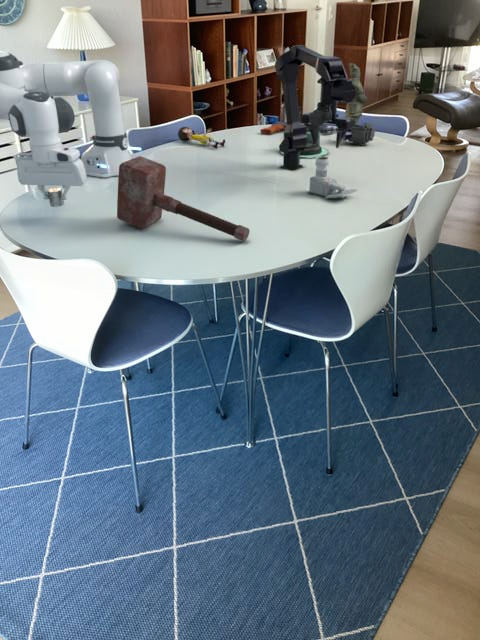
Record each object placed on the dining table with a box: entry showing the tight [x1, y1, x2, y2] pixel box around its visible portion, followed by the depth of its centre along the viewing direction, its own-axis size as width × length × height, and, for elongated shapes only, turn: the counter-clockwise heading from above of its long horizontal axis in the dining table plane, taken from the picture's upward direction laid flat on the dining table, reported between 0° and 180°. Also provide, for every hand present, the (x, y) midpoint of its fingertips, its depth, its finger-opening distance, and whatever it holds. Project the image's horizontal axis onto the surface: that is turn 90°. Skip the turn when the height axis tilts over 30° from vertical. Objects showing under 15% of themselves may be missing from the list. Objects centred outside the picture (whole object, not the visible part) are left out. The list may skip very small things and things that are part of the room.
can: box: [46, 187, 65, 208], centre depth 167 cm, size 4×4×5 cm
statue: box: [344, 62, 368, 125], centre depth 262 cm, size 11×9×30 cm
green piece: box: [280, 128, 328, 159], centre depth 234 cm, size 15×19×20 cm
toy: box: [342, 122, 376, 146], centre depth 244 cm, size 9×9×15 cm
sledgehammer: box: [116, 155, 250, 242], centre depth 156 cm, size 17×10×40 cm
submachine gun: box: [260, 121, 335, 136], centre depth 265 cm, size 32×3×25 cm
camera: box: [308, 155, 359, 199], centre depth 182 cm, size 9×12×15 cm
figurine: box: [177, 126, 226, 150], centre depth 251 cm, size 13×8×25 cm
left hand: (56, 199), depth 168 cm, fingers closed on can, 4 cm apart
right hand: (326, 146), depth 194 cm, fingers open, 9 cm apart
